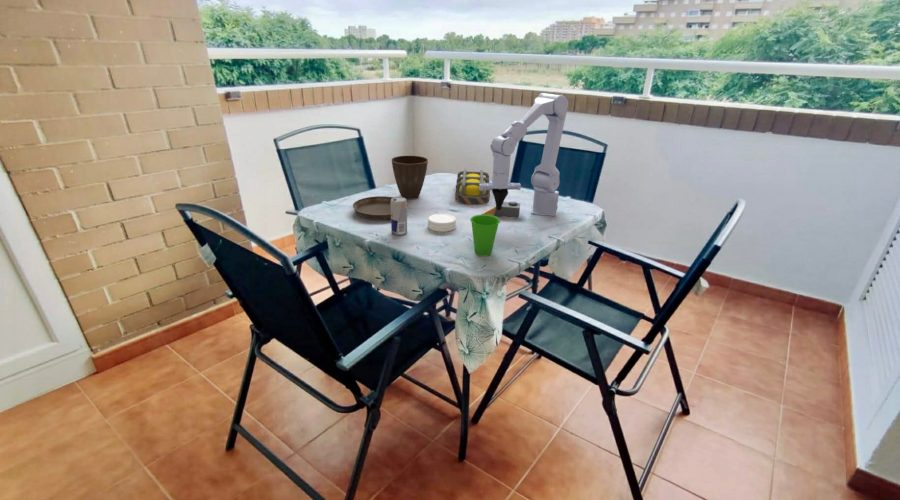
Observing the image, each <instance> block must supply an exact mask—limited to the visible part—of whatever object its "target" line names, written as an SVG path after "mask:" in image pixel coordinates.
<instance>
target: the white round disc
mask: <svg viewBox="0 0 900 500" xmlns="http://www.w3.org/2000/svg"><path fill="white" fill-rule="evenodd" d="M456 227H457V219H456V217H455V216H454V215H452V214H448V213H435V214H432V215H430V216H428V218H427V228H428V229H429V230H430V231H434V232H437V233H439V232H440V233H445V232H451V231H454V230H455V229H456Z"/></svg>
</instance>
